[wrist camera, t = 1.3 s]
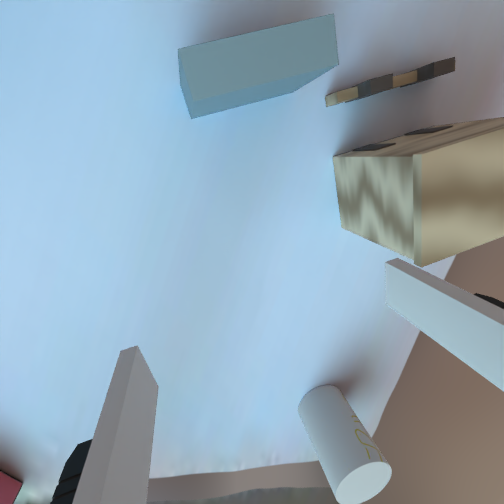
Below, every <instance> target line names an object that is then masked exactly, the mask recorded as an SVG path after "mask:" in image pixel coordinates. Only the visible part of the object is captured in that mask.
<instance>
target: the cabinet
mask: <svg viewBox="0 0 504 504" xmlns="http://www.w3.org/2000/svg"><path fill="white" fill-rule="evenodd" d="M453 71H455V57H453V58H449V59H445V60H441V61H438V62H434V63H431V64H429V65H426V66H423V67H421V68H418V69H416V70H413V71H410V72H408V73H404V74H401V75H397V76H393V74H389V75H385V76H382V77H378V78H374V79H370V80H368V81H366V82H363V83H361V84H358V85H356V86H354V87H351V88H349V89H345V90H341V91H337V92H335V93H333V94H330V95H328V96H326V97H325V101H326V107H328V106H332V105H335V104H339V103H343V102H345V103H346V102H350V101H354V100H357V99H361V98H364V97H367V96H370V95H373V94H376V93H379V92H382V91H386V90H390V89H393V88H397V87H400V88H401V87H404V86H408V85H411V84H415V83H419V82H422V81H425V80H428V79H431V78H434V77H437V76H440V75H444V74H447V73H450V72H453ZM333 164H334V172H335V179H336V187H337V195H338V203H339V211H340V219H341V227H342V228H343V229H345V230H348V231H350V232H352V233H354V234H357V235H359V236H361V237H363V238H366V239H368V240H370V241H372V242H374V243H377V244H379V245H381V246H383V247H386V248H388V249H390V250H392V251H394V252H397V253H399V254H401V255H403V256H406V257H408V258H410V259H412V260H414V264H415V265H417V266H420V267H424V266H426V265H429V264H432V263H434V262H437V261H440V260H442V259H445V258H447V257H450V256H453V255H455V254H458V253H461V252H463V251H466V250H469V249H471V248H474V247H476V246H479V245H482V244H484V243H487V242H490V241H492V240H495V239H497V238H500V237H503V236H504V117H501V118H494V119H486V120H478V121H470V122H462V123H454V124H446V125H438V126H433V127H429V128H426V129H420V130H417V131H414V132H411V133H407V134H405V135H403V136H400V137H396V138H393V139H390V140H387V141H383V142H380V143H377V144H372V145H368V146H364V147H361V148H358V149H355V150H353V151H350V152H347V153H344V154H340V155H337V156H334V157H333Z"/></svg>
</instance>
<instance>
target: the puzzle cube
mask: <svg viewBox="0 0 504 504" xmlns="http://www.w3.org/2000/svg"><path fill="white" fill-rule="evenodd" d="M21 487H22V482H20V481H18V480H16V479H15V478H13V477H11V476H9V475H7V474H6V473H4V472H2V471H0V504H13V503H14V501H15V499H16V497H17V495H18V493H19V491H20V489H21Z"/></svg>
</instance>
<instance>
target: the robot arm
mask: <svg viewBox="0 0 504 504" xmlns="http://www.w3.org/2000/svg"><path fill="white" fill-rule="evenodd" d="M385 288H386V305H387V306H389V307H390V308H392V309H393V310H394V311H396V312H397V313H398V314H400V315H401V316H402V317H404V318H405V319H406V320H408V321H409V322H410V323H412V324H413V325H415V326H416V327H417V328H419V329H420V330H421V331H423V332H424V333H425V334H427V335H428V336H430V337H431V338H432V339H434V340H435V341H436V342H438V343H439V344H440V345H442V346H443V347H444V348H446V349H447V350H448V351H450V352H451V353H452V354H454V355H455V356H456V357H458V358H459V359H461V360H462V361H463V362H465V363H466V364H467V365H469V366H470V367H471V368H473V369H474V370H475V371H477V372H478V373H479V374H481V375H482V376H484V377H485V378H486V379H488V380H489V381H490V382H492V383H493V384H494V385H496V386H497V387H498V388H500V389H501V390H503V391H504V303H503V302H501V301H499V300H497V299H495V298H492V297H488V296H485V295H481V294H477V293H476V294H471V293H469V292H467V291H465V290H463V289H461V288H459V287H457V286H454V285H452V284H450V283H448V282H446V281H444V280H442V279H440V278H438V277H436V276H434V275H432V274H430V273H428V272H426V271H423V270H421V269H419V268H417V267H415V266H413V265H411V264H409V263H407V262H405V261H403V260H401V259H399V258H396V259H393V260H390V261H387V262H385ZM157 396H158V385H157V383H156V381H155V379H154V377H153V375H152V373H151V371H150V369H149V367H148V365H147V363H146V361H145V359H144V357H143V355H142V353H141V351H140V349H139V347H138V346H134V347H131V348H128V349H125V350H122V351H120V354H119V358H118V361H117V364H116V367H115V370H114V373H113V377H112V380H111V383H110V386H109V389H108V392H107V395H106V399H105V402H104V405H103V408H102V411H101V414H100V418H99V421H98V424H97V427H96V430H95V433H94V436H93V439H91V440H88V441H85V442H83V443H80V444H78V445H77V447H76V448H75V450H74V451H73V453H72V454H71V456H70V457H69V459H68V460H67V462H66V463H65V466H64V469H63V471H62V474H61V476H60V479H59V485H57V487H56V490H55V492H54V495H53V497H52V498H53V501H52V502H51V503H50V504H146V500H147V491H148V481H149V472H150V462H151V453H152V443H153V434H154V424H155V415H156V405H157Z"/></svg>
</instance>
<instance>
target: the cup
mask: <svg viewBox="0 0 504 504" xmlns="http://www.w3.org/2000/svg"><path fill="white" fill-rule="evenodd" d="M298 413H299V416H300V418H301V420H302V423H303V425H304V427H305V429H306V432H307V434H308V436H309V439H310V441H311V443H312V445H313V448H314V450H315V452H316V454H317V457H318V459H319V461H320V463H321V466H322V468H323V470H324V472H325V475H326V477H327V479H328V482H329V484H330V486H331V488H332V491H333V493H334V495H335V497H336V500H337V501H338V502H339V503H340V504H359V503H362V502H364V501H366V500H369V499H370V498H372V497H373V496H375V495H376V494H377V493H379V492H380V491H381V490H382V489H383V488H384V487H385V486H386V484H387V483H388V481H389V479H390V477H391V473H392V471H391V467H390V466H389V464H388V463H387V461H386V459H385V458H384V457H383V455H382V454H381V452H380V450H379V449H378V447H377V446H376V445H375V443H374V441H373V440H372V438H371V437H370V435H369V434H368V432H367V431H366V429H365V428H364V426H363V425H362V423H361V422H360V420H359V419H358V417H357V416H356V414H355V413H354V411H353V410H352V408H351V407H350V405H349V404H348V402H347V401H346V399H345V398H344V396H343V395H342V393H341V392H340V390H339V389H338V388H337V387H335V386H332V385H324V386H320V387H317V388H315V389H313V390H311V391H310V392H308V393H307V394H306V395H305V396H304V397H303V398H302V400H301V401H300V403H299V406H298Z"/></svg>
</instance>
